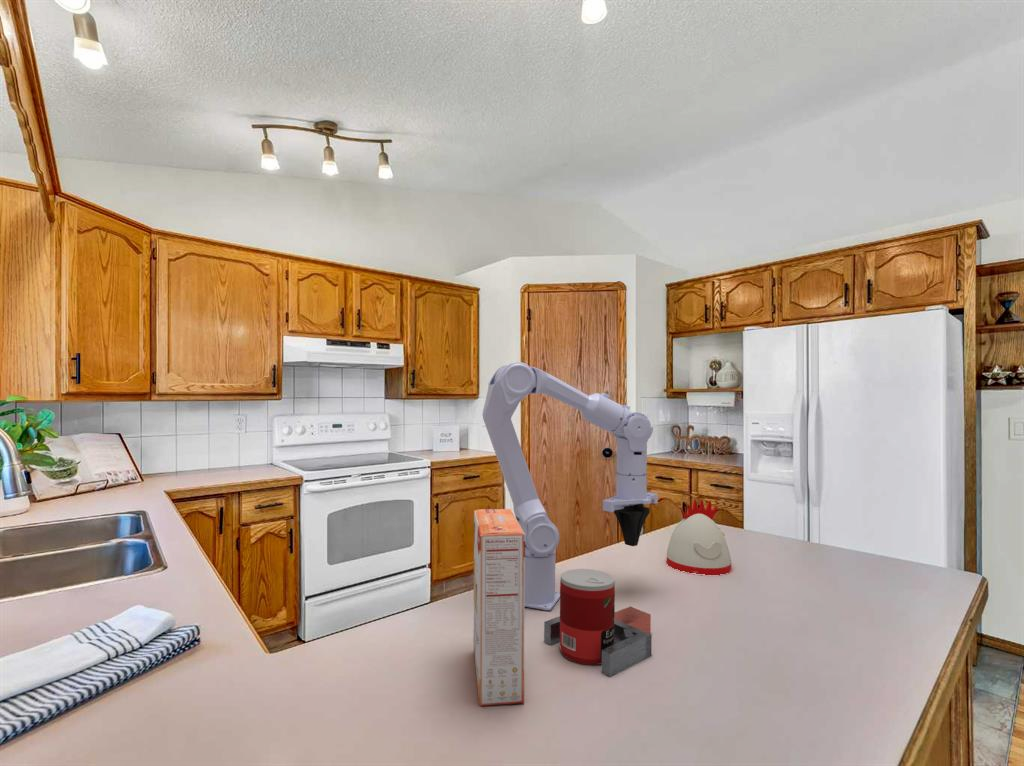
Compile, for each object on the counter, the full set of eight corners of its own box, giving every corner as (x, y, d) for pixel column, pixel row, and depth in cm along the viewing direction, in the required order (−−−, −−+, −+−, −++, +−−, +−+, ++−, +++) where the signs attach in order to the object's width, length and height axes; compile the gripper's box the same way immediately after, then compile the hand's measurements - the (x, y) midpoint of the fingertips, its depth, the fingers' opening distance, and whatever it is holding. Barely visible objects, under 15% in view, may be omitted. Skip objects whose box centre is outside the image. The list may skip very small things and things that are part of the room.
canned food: (614, 669, 71) (614, 588, 72) (556, 662, 73) (557, 583, 73) (614, 643, 79) (614, 570, 79) (562, 638, 80) (563, 566, 81)
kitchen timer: (741, 576, 110) (741, 506, 111) (677, 575, 110) (677, 505, 111) (716, 557, 124) (716, 494, 125) (659, 556, 124) (659, 493, 125)
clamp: (609, 616, 89) (609, 598, 89) (674, 643, 79) (674, 623, 79) (544, 641, 79) (544, 621, 79) (609, 676, 69) (609, 654, 69)
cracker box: (470, 651, 75) (472, 507, 76) (511, 650, 76) (513, 507, 77) (475, 708, 62) (478, 532, 62) (525, 705, 62) (527, 531, 63)
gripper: (624, 479, 92) (624, 556, 92) (671, 473, 101) (670, 543, 101) (594, 475, 98) (593, 547, 97) (641, 469, 107) (640, 535, 106)
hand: (631, 544), depth 99 cm, fingers closed
